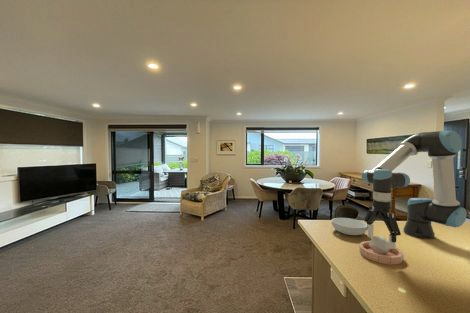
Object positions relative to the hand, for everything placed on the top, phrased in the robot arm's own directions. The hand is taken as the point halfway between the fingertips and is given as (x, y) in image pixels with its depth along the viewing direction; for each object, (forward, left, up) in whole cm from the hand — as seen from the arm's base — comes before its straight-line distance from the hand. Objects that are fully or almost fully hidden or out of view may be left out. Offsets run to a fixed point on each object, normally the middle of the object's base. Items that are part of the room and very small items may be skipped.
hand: (380, 242), depth 109 cm
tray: (0, 0, -7) cm, 7 cm away
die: (0, 0, -6) cm, 6 cm away
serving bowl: (-4, -30, -7) cm, 31 cm away
